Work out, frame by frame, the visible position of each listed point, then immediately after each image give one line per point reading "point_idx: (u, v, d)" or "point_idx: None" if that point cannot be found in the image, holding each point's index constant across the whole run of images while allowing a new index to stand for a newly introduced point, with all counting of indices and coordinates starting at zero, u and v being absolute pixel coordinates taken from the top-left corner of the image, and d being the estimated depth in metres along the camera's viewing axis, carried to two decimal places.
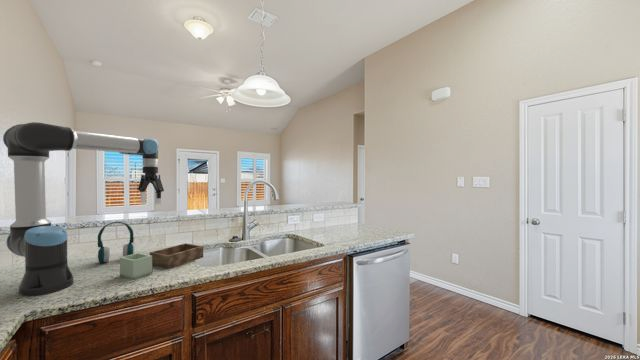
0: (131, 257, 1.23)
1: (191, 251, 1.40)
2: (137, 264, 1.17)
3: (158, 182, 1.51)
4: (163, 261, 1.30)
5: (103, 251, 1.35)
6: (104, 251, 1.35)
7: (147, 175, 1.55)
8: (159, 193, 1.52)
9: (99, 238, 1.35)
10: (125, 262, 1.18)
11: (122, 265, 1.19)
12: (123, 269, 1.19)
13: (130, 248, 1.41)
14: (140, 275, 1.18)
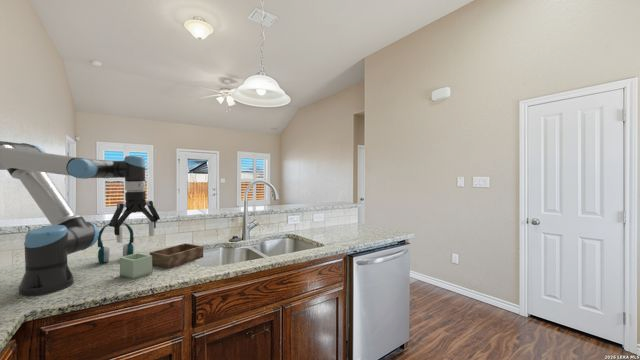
0: (131, 257, 1.23)
1: (191, 251, 1.40)
2: (137, 264, 1.17)
3: (115, 213, 1.14)
4: (163, 261, 1.30)
5: (103, 251, 1.35)
6: (104, 251, 1.35)
7: None
8: (115, 228, 1.13)
9: (99, 238, 1.35)
10: (125, 262, 1.18)
11: (122, 265, 1.19)
12: (123, 269, 1.19)
13: (130, 248, 1.41)
14: (140, 275, 1.18)
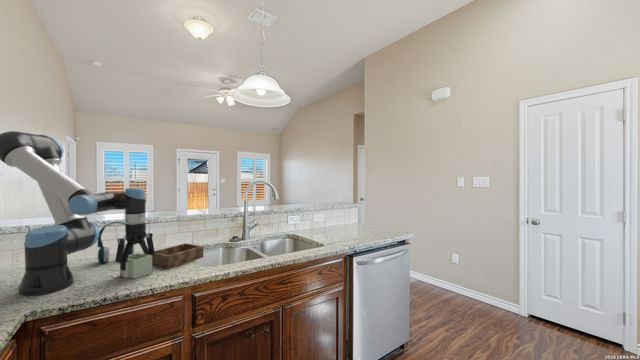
0: (131, 257, 1.23)
1: (191, 251, 1.40)
2: (137, 264, 1.17)
3: (118, 249, 1.15)
4: (163, 261, 1.30)
5: (103, 251, 1.35)
6: (104, 251, 1.35)
7: None
8: (121, 264, 1.16)
9: (99, 238, 1.35)
10: None
11: None
12: None
13: None
14: (140, 275, 1.18)
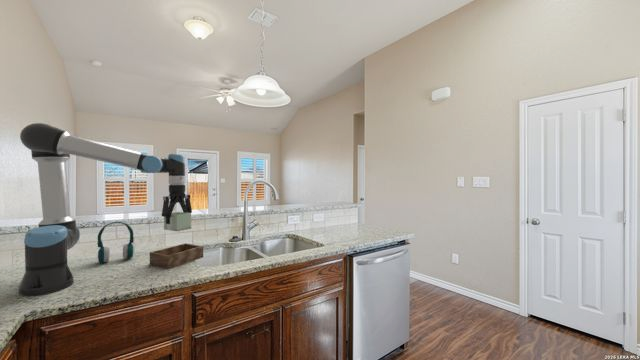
0: None
1: (191, 251, 1.40)
2: (180, 219, 1.36)
3: (164, 205, 1.34)
4: (163, 261, 1.30)
5: (103, 251, 1.35)
6: (104, 251, 1.35)
7: None
8: (166, 218, 1.35)
9: (99, 238, 1.35)
10: None
11: None
12: None
13: (130, 248, 1.41)
14: (182, 229, 1.37)
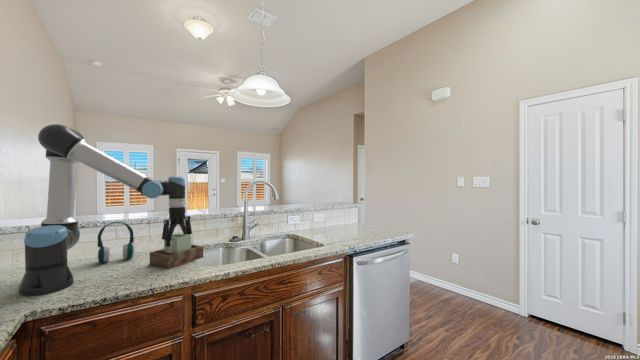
0: (173, 236, 1.42)
1: (191, 251, 1.40)
2: (180, 242, 1.36)
3: (164, 228, 1.34)
4: (163, 261, 1.30)
5: (103, 251, 1.35)
6: (104, 251, 1.35)
7: None
8: (166, 241, 1.35)
9: (99, 238, 1.35)
10: None
11: None
12: None
13: (130, 248, 1.41)
14: (182, 251, 1.37)
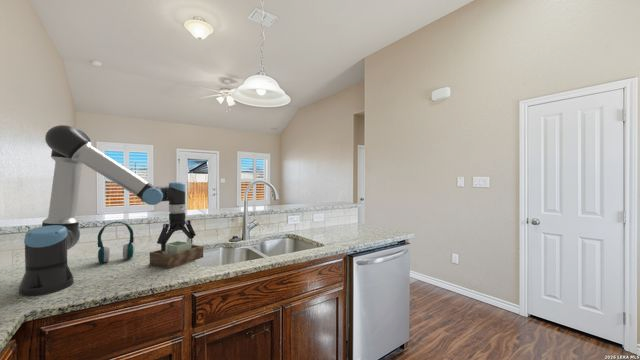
0: (172, 244, 1.43)
1: (191, 251, 1.40)
2: (180, 250, 1.36)
3: (161, 232, 1.33)
4: (163, 261, 1.30)
5: (103, 251, 1.35)
6: (104, 251, 1.35)
7: None
8: (161, 245, 1.33)
9: (99, 238, 1.35)
10: (169, 248, 1.37)
11: None
12: None
13: (130, 248, 1.41)
14: None
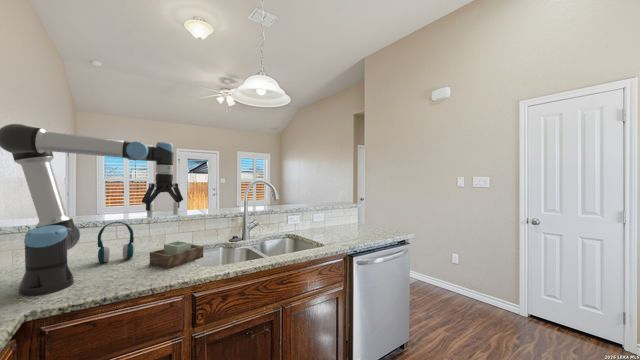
0: (172, 244, 1.43)
1: (191, 251, 1.40)
2: (180, 250, 1.36)
3: (147, 192, 1.30)
4: (163, 261, 1.30)
5: (103, 251, 1.35)
6: (104, 251, 1.35)
7: None
8: (146, 205, 1.29)
9: (99, 238, 1.35)
10: (169, 248, 1.37)
11: (166, 250, 1.38)
12: (167, 254, 1.38)
13: (130, 248, 1.41)
14: None
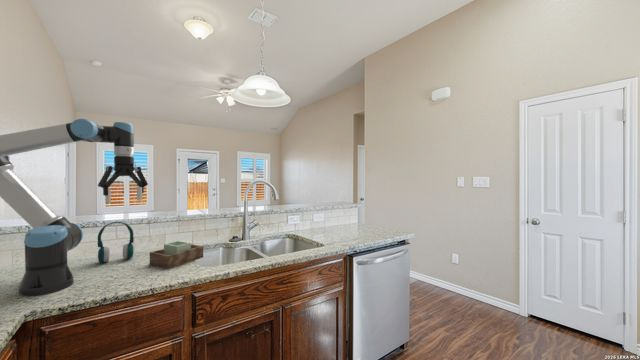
0: (172, 244, 1.43)
1: (191, 251, 1.40)
2: (180, 250, 1.36)
3: (104, 175, 1.20)
4: (163, 261, 1.30)
5: (103, 251, 1.35)
6: (104, 251, 1.35)
7: None
8: (103, 189, 1.20)
9: (99, 238, 1.35)
10: (169, 248, 1.37)
11: (166, 250, 1.38)
12: (167, 254, 1.38)
13: (130, 248, 1.41)
14: None
